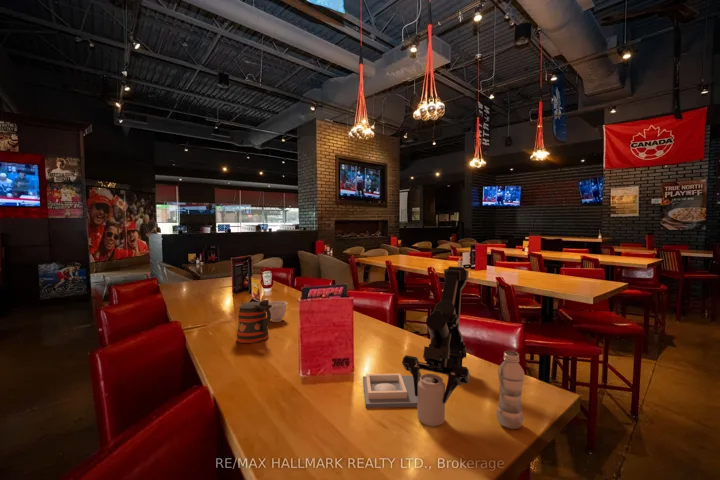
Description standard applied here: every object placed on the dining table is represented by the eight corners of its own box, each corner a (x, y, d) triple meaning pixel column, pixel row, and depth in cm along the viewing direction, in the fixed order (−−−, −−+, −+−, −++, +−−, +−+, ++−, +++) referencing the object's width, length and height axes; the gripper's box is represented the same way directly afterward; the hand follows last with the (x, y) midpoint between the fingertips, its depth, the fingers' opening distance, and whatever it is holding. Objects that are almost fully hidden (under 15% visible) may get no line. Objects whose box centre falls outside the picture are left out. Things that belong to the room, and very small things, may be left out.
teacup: (259, 324, 171) (259, 306, 171) (271, 317, 186) (271, 300, 185) (280, 326, 169) (280, 307, 169) (290, 318, 184) (290, 301, 183)
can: (445, 430, 84) (446, 386, 83) (416, 426, 85) (417, 383, 85) (443, 413, 91) (444, 373, 90) (417, 410, 93) (417, 370, 92)
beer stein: (282, 336, 153) (281, 296, 152) (261, 347, 140) (260, 303, 139) (252, 331, 161) (251, 292, 160) (229, 340, 148) (229, 298, 147)
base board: (418, 378, 112) (418, 369, 112) (431, 406, 95) (431, 396, 95) (362, 379, 111) (362, 370, 111) (365, 407, 94) (365, 397, 94)
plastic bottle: (491, 418, 89) (493, 349, 88) (514, 417, 90) (516, 348, 89) (504, 433, 83) (505, 358, 82) (528, 432, 83) (530, 358, 82)
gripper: (404, 328, 95) (390, 380, 85) (469, 339, 86) (461, 398, 77) (411, 345, 102) (400, 395, 93) (472, 356, 94) (466, 412, 84)
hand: (429, 399), depth 87 cm, fingers closed on can, 7 cm apart
